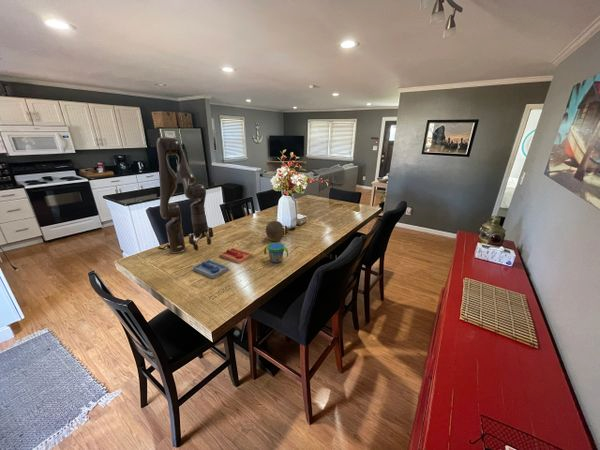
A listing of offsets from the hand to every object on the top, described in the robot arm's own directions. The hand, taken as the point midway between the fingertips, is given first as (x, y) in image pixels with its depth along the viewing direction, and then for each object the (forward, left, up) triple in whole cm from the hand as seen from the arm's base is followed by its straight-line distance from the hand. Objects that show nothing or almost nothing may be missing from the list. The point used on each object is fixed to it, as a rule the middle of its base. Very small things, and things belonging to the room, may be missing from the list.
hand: (202, 247), depth 138 cm
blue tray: (+5, 0, -14) cm, 14 cm away
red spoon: (+4, +20, -13) cm, 24 cm away
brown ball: (+10, +55, -14) cm, 57 cm away
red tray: (+5, +20, -14) cm, 25 cm away
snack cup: (+30, +30, -14) cm, 45 cm away
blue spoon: (+5, 0, -13) cm, 14 cm away
